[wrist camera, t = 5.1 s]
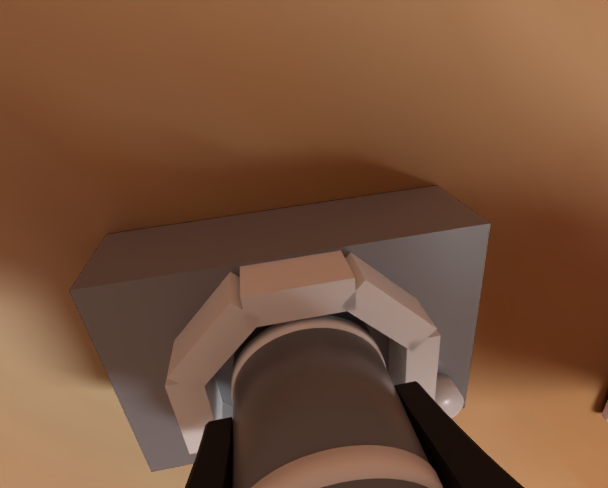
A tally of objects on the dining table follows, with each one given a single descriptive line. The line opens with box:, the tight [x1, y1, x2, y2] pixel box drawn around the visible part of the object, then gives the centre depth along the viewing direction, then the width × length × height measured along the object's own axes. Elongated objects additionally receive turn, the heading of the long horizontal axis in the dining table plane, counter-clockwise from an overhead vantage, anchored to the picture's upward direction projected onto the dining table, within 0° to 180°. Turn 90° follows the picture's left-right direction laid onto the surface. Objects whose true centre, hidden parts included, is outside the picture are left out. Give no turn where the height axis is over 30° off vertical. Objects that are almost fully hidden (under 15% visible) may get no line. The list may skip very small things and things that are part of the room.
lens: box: [231, 311, 443, 488], centre depth 10 cm, size 4×4×6 cm
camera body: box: [69, 185, 491, 472], centre depth 14 cm, size 12×8×5 cm, turn 95°
